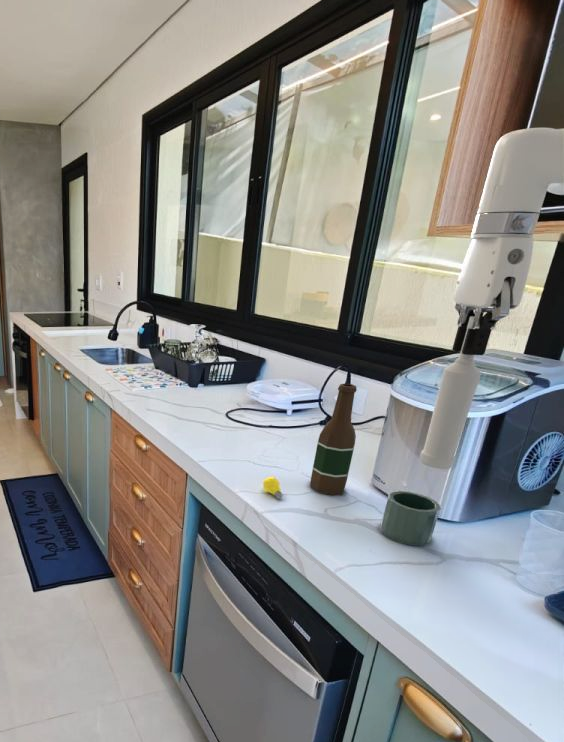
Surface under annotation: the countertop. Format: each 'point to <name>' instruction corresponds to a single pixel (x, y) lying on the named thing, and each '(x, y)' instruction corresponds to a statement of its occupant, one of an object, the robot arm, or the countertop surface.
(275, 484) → the light bulb
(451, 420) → the bottle
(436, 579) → the countertop surface
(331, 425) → the beer bottle
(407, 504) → the holder
